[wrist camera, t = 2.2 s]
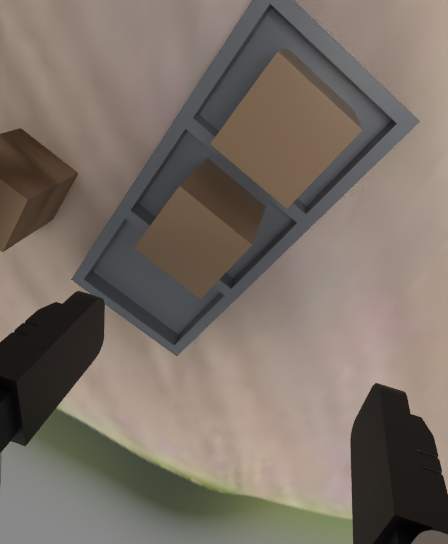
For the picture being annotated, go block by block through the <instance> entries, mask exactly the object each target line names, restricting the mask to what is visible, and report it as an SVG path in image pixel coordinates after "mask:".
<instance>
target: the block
mask: <svg viewBox="0 0 448 544" xmlns="http://www.w3.org/2000/svg"><path fill="white" fill-rule="evenodd" d="M77 174H78V173H77V172H76V171H75V170H74V169H72V168H71V167H70V166H68V165H67V164H66V163H65V162H63V161H62V160H61V159H59V158H58V157H57V156H56V155H54V154H53V153H52V152H50V151H49V150H48V149H47V148H45V147H44V146H43V145H41V144H40V143H39V142H38V141H36V140H35V139H34V138H33V137H31V136H30V135H29V134H27V133H26V132H25V131H24V130H22V129H21V128H20V129H17V130H13V131H10V132H6V133H3V134H0V250H1V251H2V252H4V251H5V250H7V249H8V248H10V247H11V246H13V245H14V244H16V243H17V242H19V241H20V240H22V239H23V238H25V237H27V236H28V235H30V234H31V233H33V232H34V231H36V230H37V229H39V228H40V227H42V226H43V225H45V224H46V223H48V222H50V221H51V220H53V218H54V216H55V215H56V213H57V211H58V209H59V207H60V205H61V204H62V202H63V200H64V198H65V196H66V194H67V193H68V191H69V189H70V187H71V185H72V183H73V182H74V180H75V178H76V176H77Z"/></svg>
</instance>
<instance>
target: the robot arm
mask: <svg viewBox="0 0 448 544" xmlns="http://www.w3.org/2000/svg"><path fill="white" fill-rule="evenodd" d="M104 310H105V303H104V299H103V298H100V297H97V296H94V295H91V294H87V293H84V292H81V291H77V292H75V293H74V294H73V295H72V296H71V297H70V298H68V299H67V300H66V301H65V302H64V303H63V304H61V303H57V302H55V303H53V304H50V305H48V306H46V307H44V308H41V309H39V310H38V311H36V312H35V313H34V314H33V315H32V316H31V317H29V318H28V319H27V320H26V321H25V323H22V324H21V325H20V326H19V327H18V328H17V329H15V331H14V333H11V334H10V335H8V336H7V337H6V338H5V339H4V340H3V341H1V342H0V482H1V459H2V456H1V452H2V450H3V449H4V448H5V447H6V446H7V445H8V443H9V442H10V441H12V442H16V443H18V444H21V445H23V446H26V445H27V444H28V442H29V441H30V440H31V439H32V437H33V436H34V435H35V434H36V432H37V431H38V430H39V429H40V427H41V426H42V425H43V423H44V422H45V421H46V420H47V419H48V417H49V416H50V415H51V413H52V412H53V411H54V410H55V409H56V407H57V406H58V405H59V403H60V402H61V401H62V400H63V398H64V397H65V396H66V395H67V393H68V392H69V391H70V390H71V388H72V387H73V386H74V385H75V383H76V382H77V381H78V380H79V378H80V377H81V376H82V375H83V373H84V372H85V371H86V370H87V368H88V367H89V366H90V365H91V363H92V362H93V361H94V360H95V358H96V357H97V355H98V354H99V352H100V350H101V347H102V344H103V340H104ZM441 473H442V469H441V465H440V461H439V459H438V453H437V449H436V445H435V440H434V436H433V435H432V433H431V432H430V430H429V429H428V427H427V425H426V424H425V422H424V421H423V419H422V418H421V417H418V416H415V415H412V414H410V409H409V404H408V399H407V395H406V393H405V392H404V391H400V390H397V389H394V388H391V387H387V386H384V385H381V384H378V383H376V384H374V385H373V387H372V388H371V390H370V392H369V394H368V396H367V398H366V400H365V402H364V403H363V405H362V407H361V409H360V411H359V413H358V415H357V417H356V419H355V421H354V424H353V427H352V432H351V478H352V513H353V544H448V494H447V490H446V486H445V481H444V477H443V475H441Z"/></svg>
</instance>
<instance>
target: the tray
mask: <svg viewBox="0 0 448 544" xmlns="http://www.w3.org/2000/svg"><path fill="white" fill-rule="evenodd" d="M419 122H420V121H419V120H418V119H417V118H416V117H415V116H414V115H413V114H412V113H411V112H409V111H408V110H407V109H406V108H405V107H404V106H403V105H402V104H401V103H400V102H399V101H398V100H397V99H396V98H395V97H394V96H393V95H392V94H391V93H390V92H389V91H388V90H387V89H386V88H384V87H383V86H382V85H381V84H380V83H379V82H378V81H377V80H376V79H375V78H374V77H373V76H372V75H371V74H370V73H369V72H368V71H367V70H366V69H365V68H364V67H363V66H362V65H361V64H359V63H358V62H357V61H356V60H355V59H354V58H353V57H352V56H351V55H350V54H349V53H348V52H347V51H346V50H345V49H344V48H343V47H342V46H341V45H340V44H339V43H338V42H337V41H336V40H334V39H333V38H332V37H331V36H330V35H329V34H328V33H327V32H326V31H325V30H324V29H323V28H322V27H321V26H320V25H319V24H318V23H317V22H316V21H315V20H314V19H313V18H312V17H311V16H309V15H308V14H307V13H306V12H305V11H304V10H303V9H302V8H301V7H300V6H299V5H298V4H297V3H296V2H295V1H294V0H252V2H251V4H250V5H249V7H248V8H247V10H246V11H245V13H244V14H243V16H242V17H241V19H240V20H239V22H238V24H237V25H236V27H235V28H234V30H233V31H232V33H231V34H230V36H229V37H228V39H227V40H226V42H225V44H224V45H223V47H222V48H221V50H220V51H219V53H218V54H217V56H216V57H215V59H214V61H213V62H212V64H211V65H210V67H209V68H208V70H207V71H206V73H205V74H204V76H203V77H202V79H201V81H200V82H199V84H198V85H197V87H196V88H195V90H194V91H193V93H192V94H191V96H190V97H189V99H188V101H187V102H186V104H185V105H184V107H183V108H182V110H181V111H180V113H179V114H178V116H177V118H176V119H175V121H174V122H173V124H172V125H171V127H170V128H169V130H168V131H167V133H166V134H165V136H164V138H163V139H162V141H161V142H160V144H159V145H158V147H157V148H156V150H155V151H154V153H153V154H152V156H151V158H150V159H149V161H148V162H147V164H146V165H145V167H144V168H143V170H142V171H141V173H140V175H139V176H138V178H137V179H136V181H135V182H134V184H133V185H132V187H131V188H130V190H129V191H128V193H127V195H126V196H125V198H124V199H123V201H122V202H121V204H120V205H119V207H118V208H117V210H116V211H115V213H114V215H113V216H112V218H111V219H110V221H109V222H108V224H107V225H106V227H105V228H104V230H103V232H102V233H101V235H100V236H99V238H98V239H97V241H96V242H95V244H94V245H93V247H92V248H91V250H90V252H89V253H88V255H87V256H86V258H85V259H84V261H83V262H82V264H81V265H80V267H79V268H78V270H77V272H76V273H75V275H74V276H73V278H72V279H71V280H73V281H74V282H75V283H77V284H78V285H79V286H81V287H82V288H84V289H85V290H86V291H88V292H89V293H90V294H92V295H94V296H97V297H100V298H103V299H104V303H105V304H106V305H107V306H108V307H110V308H111V309H112V310H114V311H115V312H117V313H118V314H119V315H121V316H122V317H123V318H125V319H126V320H128V321H129V322H130V323H132V324H133V325H135V326H136V327H137V328H139V329H140V330H141V331H143V332H144V333H146V334H147V335H148V336H150V337H151V338H152V339H154V340H155V341H157V342H158V343H159V344H161V345H162V346H163V347H165V348H166V349H168V350H169V351H170V352H172V353H173V354H174V355H176V356H177V355H179V354H180V353H181V352H182V351H183V350H184V349H185V348H186V347H187V346H188V345H189V344H190V343H191V342H192V341H193V340H194V339H195V338H196V337H197V336H198V335H199V334H200V333H201V332H202V331H203V330H204V329H205V328H206V327H208V326H209V325H210V324H211V323H212V322H213V321H214V320H215V319H216V318H217V317H218V316H219V315H220V314H221V313H222V312H223V311H224V310H225V309H226V308H227V307H228V306H229V305H230V304H231V303H232V302H233V301H234V300H236V299H237V298H238V297H239V296H240V295H241V294H242V293H243V292H244V291H245V290H246V289H247V288H248V287H249V286H250V285H251V284H252V283H253V282H254V281H255V280H256V279H257V278H258V277H259V276H260V275H261V274H262V273H263V272H265V271H266V270H267V269H268V268H269V267H270V266H271V265H272V264H273V263H274V262H275V261H276V260H277V259H278V258H279V257H280V256H281V255H282V254H283V253H284V252H285V251H286V250H287V249H288V248H289V247H290V246H291V245H292V244H294V243H295V242H296V241H297V240H298V239H299V238H300V237H301V236H302V235H303V234H304V233H305V232H306V231H307V230H308V229H309V228H310V227H311V226H312V225H313V224H314V223H315V222H316V221H317V220H318V219H319V218H320V217H321V216H323V215H324V214H325V213H326V212H327V211H328V210H329V209H330V208H331V207H332V206H333V205H334V204H335V203H336V202H337V201H338V200H339V199H340V198H341V197H342V196H343V195H344V194H345V193H346V192H347V191H348V190H349V189H350V188H352V187H353V186H354V185H355V184H356V183H357V182H358V181H359V180H360V179H361V178H362V177H363V176H364V175H365V174H366V173H367V172H368V171H369V170H370V169H371V168H372V167H373V166H374V165H375V164H376V163H377V162H378V161H380V160H381V159H382V158H383V157H384V156H385V155H386V154H387V153H388V152H389V151H390V150H391V149H392V148H393V147H394V146H395V145H396V144H397V143H398V142H399V141H400V140H401V139H402V138H403V137H404V136H405V135H406V134H407V133H409V132H410V131H411V130H412V129H413V128H414V127H415V126H416V125H417V124H418V123H419Z"/></svg>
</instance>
